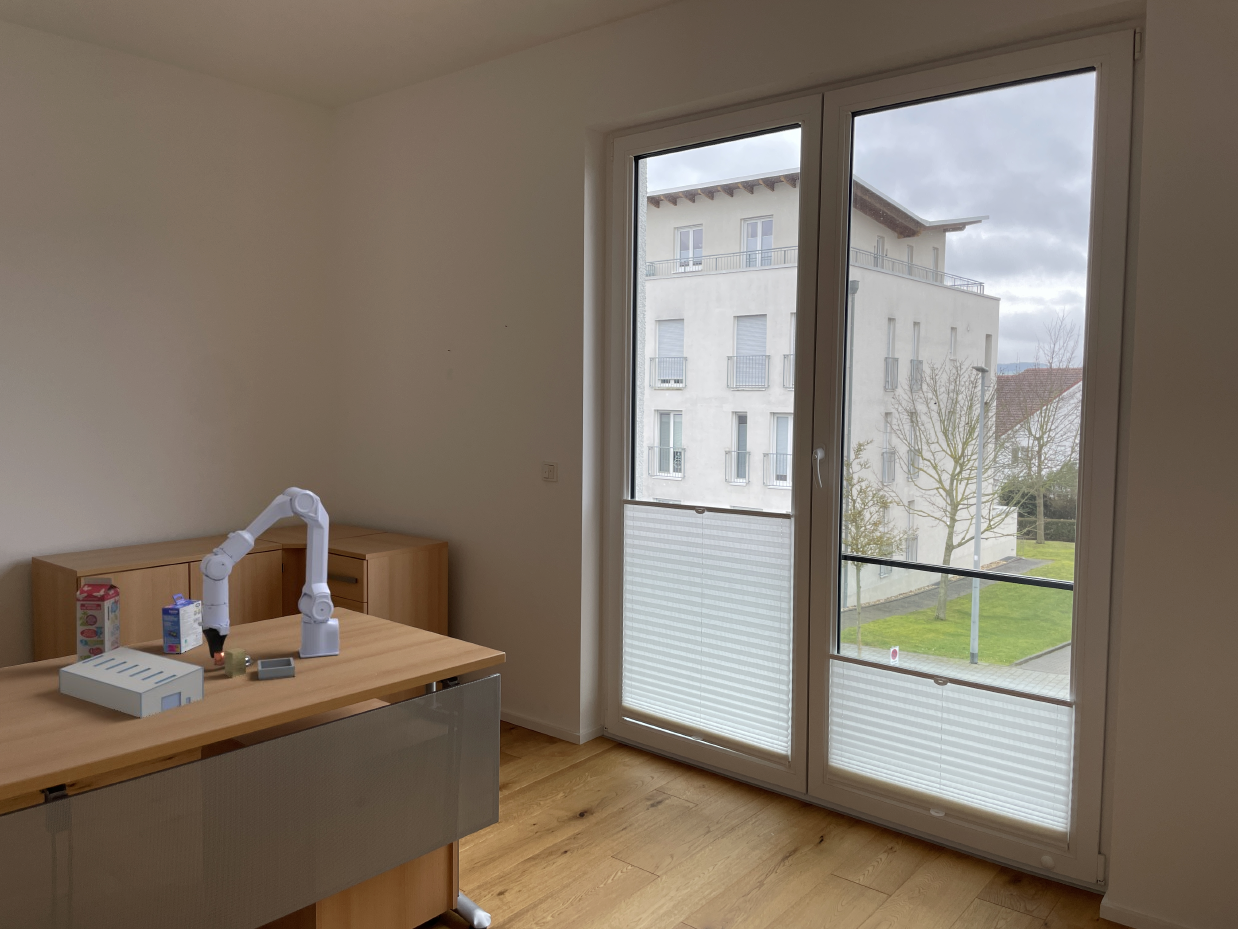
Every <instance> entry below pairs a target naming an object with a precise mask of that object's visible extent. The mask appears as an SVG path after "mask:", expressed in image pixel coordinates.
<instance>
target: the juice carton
mask: <svg viewBox="0 0 1238 929" xmlns="http://www.w3.org/2000/svg"><path fill="white" fill-rule="evenodd" d="M120 604H121V603H120V588H119V587H118V586H117V585H115V584H113V578H112V577H91V576H90V577H88V576H86V577H85V576H84V578H83V585H82V586H81V587H80V589H79V590H78V591H77V592H76V654H77V658H76V659H77V661H76V663H78V662H80V661H83V660H86V659H89V658H91V657H94V656H97V655H100V654H102V653H105V652H108V651H111V650H113V649H116V648H119V647H121V621H120V620H121V619H120V617H121V611H120V609H121V608H120Z"/></svg>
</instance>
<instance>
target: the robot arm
mask: <svg viewBox="0 0 1238 929" xmlns="http://www.w3.org/2000/svg"><path fill="white" fill-rule="evenodd" d="M295 514H296V515H297V516H299V517H300V518H301V519H302V520H303V521H304V522H305V523H306V524H307V530H306V531H307V534H306V535H307V538H306V561H305V562H306V563H305V564H306V567H305V584H304V585H303V586H302V591H301V592H302V593H301V596H300V598H299V600H298V602H297V604H298V605H297V606H298V607H297V608H298V610H299V611H300V612H301V613H302V616H301V620H300V621H301V624H300V626H301V627H300V632H301V633H300V635H301V638H300V639H301V640H300V642H301V643H300V645H301V646H300V647H299V648H298V653H299V656H300V658H302V659H304V658H315V657H326V656H334V655H335V656H338V655H339V654H340V629H339V628H340V625H339V624H340V623H339V619H338V618H335V617H334V618H331V617H332V616H333V612H334V608H335V607H334V604H333V602H332V599H331V591H330V589H329V586H328V583H327V582H328V560H329V559H328V557H329V556H328V555H329V527H330V526H329V524H330V518H329V515H328V512H327V511H326V509H325V507H324V506H323V504H322V502H321V499H320V497H319V496H318V495H316V494H315V493H314V492H312V491H310V490H307V489H301V488H299V487H297V486H293V487H292V486H291V487H289V488H288V487H287V488H286V489H285V490H284V491H283V492H282V494H280V495H278V496H276V497H275V499H273V501H272V502H271V503H270V504H269V505H268V506H267V507H266V508H265V509H264V510H263V511H262V512H261V513H260V514H259V515H258V516H257V517H256V518H255V519H254V520H253V521H252V522H251V523H250V524H249V525H248V526H247V527H246V528H245V529H244V530H236V531H235V532H230V533H229V534H227V539H226V540H224V542H222V544H220V545H219V546H218V547H215V548H213V549H212V552H213V553H209V554H207V555H205V556H204V557H203V558H202V560H201V562H200V564H199V570H200V572H201V573H202V574H203V575H202V582H203V583H202V622H198V626H202V627H205V629H202V635H204V638H205V639H206V643H207V644H208V650H209V656H210V658H211V659H213V660H214V652H216V651H224V644H225V641H226V639H227V637H228V635H230V616H229V607H230V606H229V601H230V600H229V576H230V575H231V573H232V569H233V566H235V565H236V564H238V562H239V561H240V560H241V559H242V558H244V557H245V556H246V555H247V554H248V553H249V552H250V551H252V549H253V548H255V540H256V539H257V538H258V537H259V536H261V535H262V534H263V533H264V532H265V531H266V530H267V529H269V528H270V527H271V526H272V525H273V524H274V523H275V522H277V521H278V520H279V519H281V518H282V519H283V518H288V517H293V516H294V515H295ZM206 628H207V629H206Z"/></svg>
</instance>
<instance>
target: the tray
mask: <svg viewBox="0 0 1238 929" xmlns="http://www.w3.org/2000/svg"><path fill="white" fill-rule="evenodd" d="M295 666H296V665H295V662H294V658H293V657H283V658H273V659H260V660H259V659H258V660H257V676H258V681H263V680H264V681H266V680H273V679H274V678H276V679H285V677H286V678H294V677H293V676H295V677H296V674H295V673H296V671H295V670H296V669H295V668H296V667H295Z"/></svg>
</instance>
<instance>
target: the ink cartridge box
mask: <svg viewBox="0 0 1238 929" xmlns="http://www.w3.org/2000/svg"><path fill="white" fill-rule="evenodd" d="M178 597H179V598H180V599H177V598H178ZM172 599H173V601H174V603H171V604H169V605H166V606H164V607H162V608H161V616H162V640H163V644H162V645H163V653H164V652H165V653H164V654H176V653H179V654H178V655H180V653H181V654H184V653H186V652H187V651H189V650H192V649H195V648H196V647H199V646H200V645H202V644H203V632H202V630H203V626H198V622H202V621H203V613H202V600H200V599H186V598H184V596H183V594H182V593H178V594H177V593H176V594H174V595H172ZM185 651H186V652H185Z"/></svg>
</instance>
